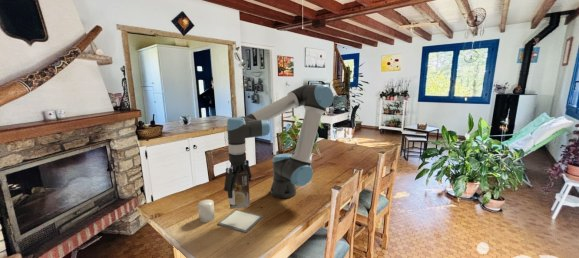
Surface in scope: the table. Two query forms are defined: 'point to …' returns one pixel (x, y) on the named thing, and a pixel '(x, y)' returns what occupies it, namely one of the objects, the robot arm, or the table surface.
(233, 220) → the mat
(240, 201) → the coffee box
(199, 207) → the cream capsule pill
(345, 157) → the table surface
